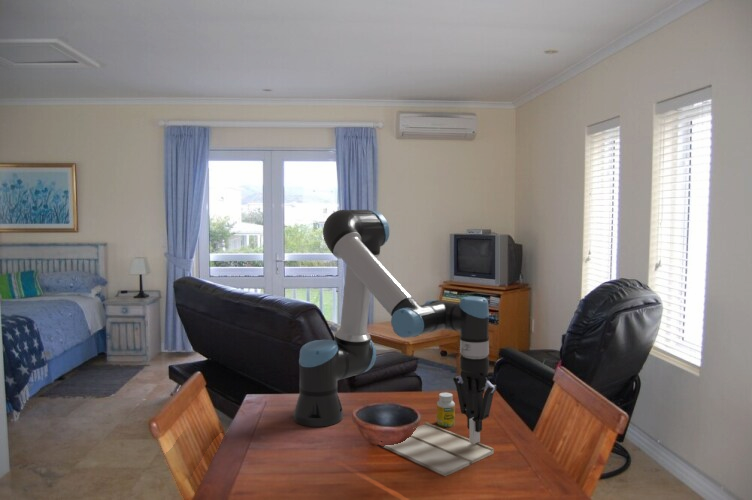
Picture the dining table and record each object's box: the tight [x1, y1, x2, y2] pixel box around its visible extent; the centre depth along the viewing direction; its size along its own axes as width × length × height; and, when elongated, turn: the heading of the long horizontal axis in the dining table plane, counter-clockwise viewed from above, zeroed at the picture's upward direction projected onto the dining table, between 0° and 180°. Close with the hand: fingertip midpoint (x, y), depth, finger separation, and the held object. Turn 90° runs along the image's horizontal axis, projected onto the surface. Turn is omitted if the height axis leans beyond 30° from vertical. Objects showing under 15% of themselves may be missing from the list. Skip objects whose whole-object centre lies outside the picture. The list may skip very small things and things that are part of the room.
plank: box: [411, 421, 495, 465], centre depth 150 cm, size 24×9×2 cm, turn 42°
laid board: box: [383, 437, 472, 477], centre depth 144 cm, size 24×10×2 cm, turn 42°
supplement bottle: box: [436, 392, 456, 428], centre depth 164 cm, size 5×5×10 cm
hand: (474, 441), depth 148 cm, fingers closed
